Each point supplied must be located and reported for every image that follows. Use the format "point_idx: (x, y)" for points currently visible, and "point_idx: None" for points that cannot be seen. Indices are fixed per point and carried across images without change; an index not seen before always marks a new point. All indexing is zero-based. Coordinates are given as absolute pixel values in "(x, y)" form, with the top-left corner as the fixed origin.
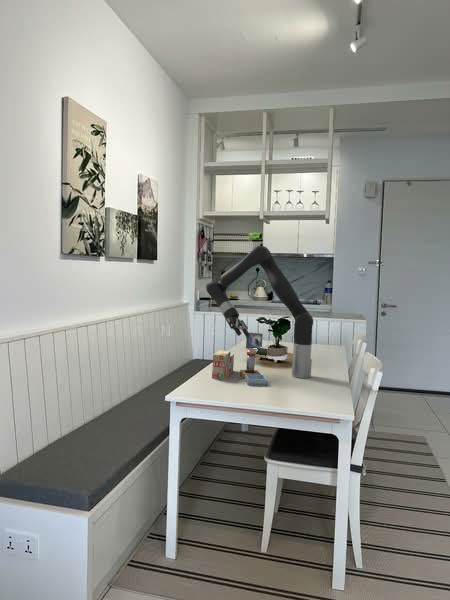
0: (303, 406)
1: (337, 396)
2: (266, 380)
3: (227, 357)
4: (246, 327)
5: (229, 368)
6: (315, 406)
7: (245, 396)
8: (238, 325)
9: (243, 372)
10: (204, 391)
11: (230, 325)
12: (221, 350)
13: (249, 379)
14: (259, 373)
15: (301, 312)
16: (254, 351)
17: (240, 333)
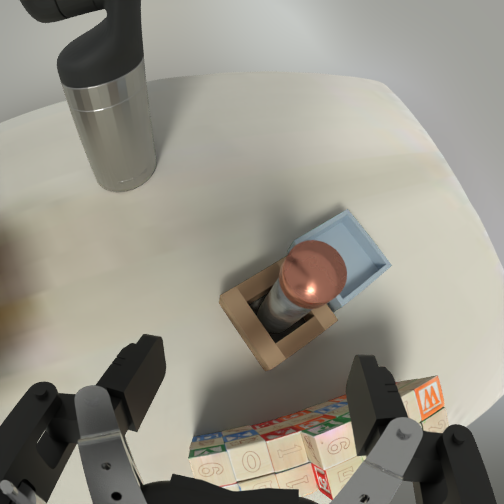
0: (409, 129)
1: (294, 81)
2: (347, 212)
3: None
4: (52, 402)
5: (287, 420)
6: (391, 113)
7: (455, 237)
8: (257, 496)
9: (314, 328)
10: (490, 338)
11: (445, 497)
12: (336, 485)
13: (388, 261)
14: (280, 262)
15: None
16: (326, 244)
17: (370, 360)
